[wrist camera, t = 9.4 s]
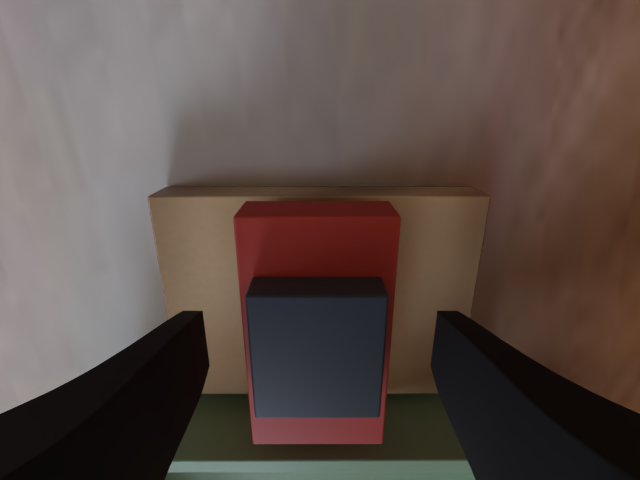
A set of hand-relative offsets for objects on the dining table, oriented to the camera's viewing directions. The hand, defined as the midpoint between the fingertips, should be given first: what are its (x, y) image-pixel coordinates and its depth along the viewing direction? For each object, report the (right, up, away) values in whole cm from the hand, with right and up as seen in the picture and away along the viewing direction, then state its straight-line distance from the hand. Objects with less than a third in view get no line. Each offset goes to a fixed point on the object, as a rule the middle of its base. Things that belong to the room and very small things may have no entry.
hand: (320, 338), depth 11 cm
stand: (0, +1, +3) cm, 3 cm away
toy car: (0, +1, +2) cm, 2 cm away
